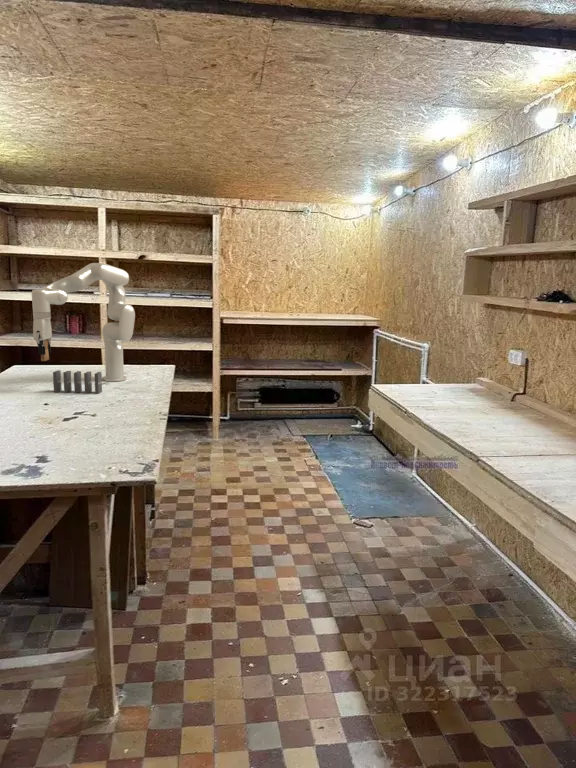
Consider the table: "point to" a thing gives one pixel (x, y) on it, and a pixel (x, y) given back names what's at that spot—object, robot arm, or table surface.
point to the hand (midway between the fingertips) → (44, 353)
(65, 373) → the domino
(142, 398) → the table surface
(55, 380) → the domino
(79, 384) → the domino
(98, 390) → the domino
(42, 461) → the table surface
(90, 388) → the domino
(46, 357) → the domino
